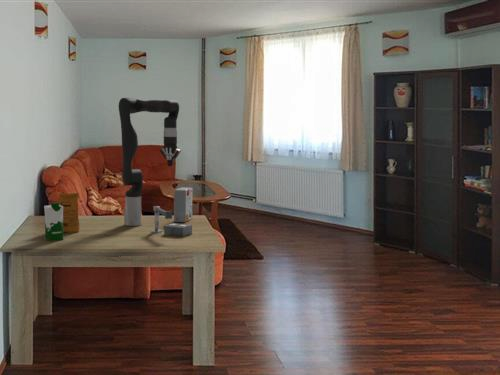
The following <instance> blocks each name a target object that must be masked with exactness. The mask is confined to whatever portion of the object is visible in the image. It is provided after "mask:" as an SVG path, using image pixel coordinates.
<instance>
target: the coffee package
mask: <svg viewBox="0 0 500 375" xmlns="http://www.w3.org/2000/svg"><path fill="white" fill-rule="evenodd" d="M58 202H59V205H60V206H63V234H64V233H67V234H73V233H74V234H75V233H78V232H79V231H80V220H79V192H71V193H64V192H62V193H61V192H59V193H58Z"/></svg>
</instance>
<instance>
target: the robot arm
mask: <svg viewBox="0 0 500 375" xmlns="http://www.w3.org/2000/svg"><path fill="white" fill-rule="evenodd" d="M143 112H146V113H147V112H148V113H165V114H168V116H166V117H165V118H164V119H163V147H162V149H160V150H159V152H160V153H161V155H162V156H163V158H164V159H165V160H166V162H167V166H168V167H173V165H174V160H175V159H177V158H178V156H179V155H180V153H181V152H182V151H181V150H180V149H178V146H177V144H178V129H177V119H178V117H179V112H180V104H179V102H178V101H177V100H175V99H174V100H173V99H171V100H170V99H166V100H165V99H163V100H161V99H151V100H150V99H149V100H143V99H137V98H133V97H122V98H120V100H119V102H118V114H119V119H120V121H119V122H120V130H121V148H122V167H121V168H122V170H121V172H122V174H121V177H122V178H121V179H122V182H123V184H124V185H125V186H131V187H130V188H129V189H128V190H126V191H125V192H124V193H125V208H123V218H124V220H123V222H124V223H123V224H124V226H127V227H130V226H131V227H136V226H138V227H139V226H141V225H142V193H143V180H144V179H143V177H144V176H143V172H142V170H141V169H138V168H135V169H133V168H132V163H133V159H134V157H135V155H136V153H137V150H138V147H139V145H138V144H139V141H138V134H137V132H136V130H135V127H134V126H133V123H132V120H131V115H133V114H137V113H143Z"/></svg>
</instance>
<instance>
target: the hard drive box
mask: <svg viewBox="0 0 500 375" xmlns="http://www.w3.org/2000/svg"><path fill="white" fill-rule="evenodd" d="M193 191H194V190H193V187H186V186H185V187H184V186H183V187H178V188H176V189H174V190H173V192H174V193H173V196H174V197H173V200H174V201H173V223H176V222H177V223H186V222H188V221H191V220H192V219H193V193H194V192H193Z"/></svg>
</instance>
